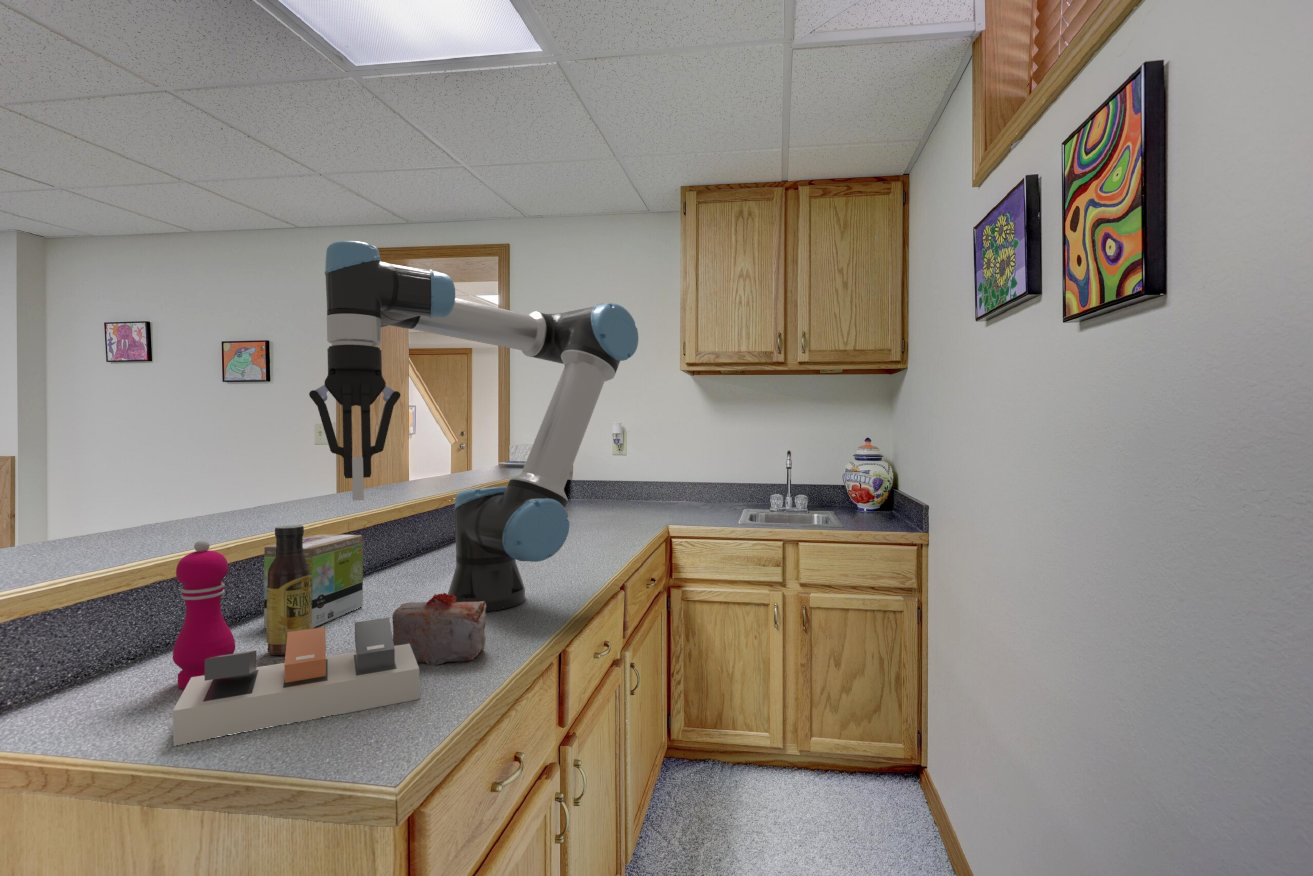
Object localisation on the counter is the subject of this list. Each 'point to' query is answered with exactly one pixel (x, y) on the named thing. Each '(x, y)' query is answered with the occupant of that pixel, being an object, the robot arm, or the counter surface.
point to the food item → (441, 629)
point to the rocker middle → (305, 654)
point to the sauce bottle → (288, 589)
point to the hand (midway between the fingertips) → (358, 499)
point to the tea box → (328, 574)
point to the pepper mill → (201, 612)
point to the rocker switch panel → (290, 696)
